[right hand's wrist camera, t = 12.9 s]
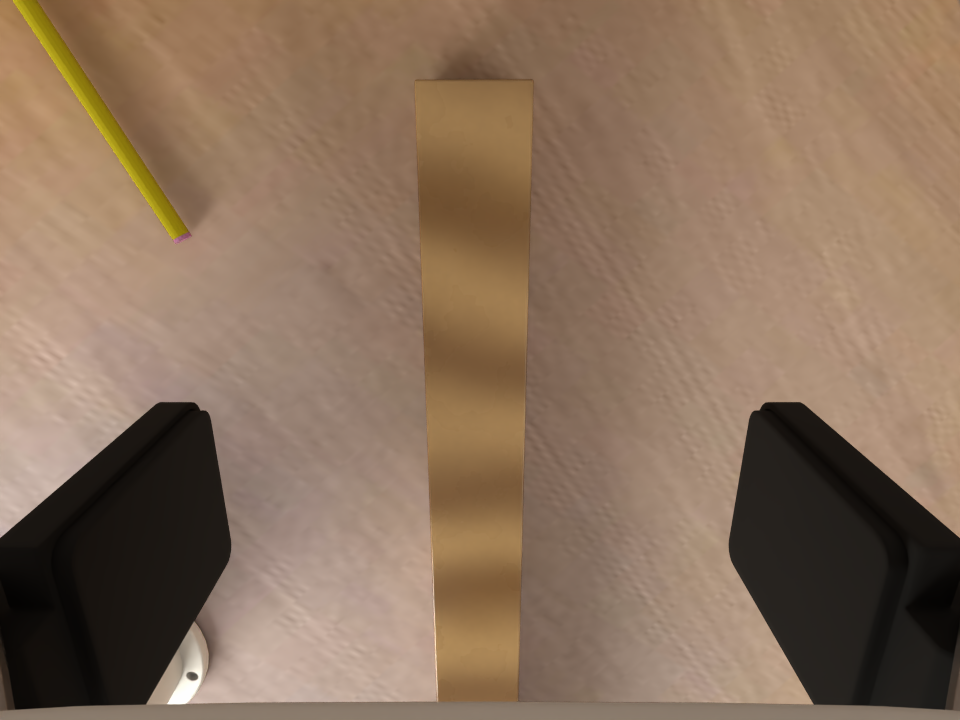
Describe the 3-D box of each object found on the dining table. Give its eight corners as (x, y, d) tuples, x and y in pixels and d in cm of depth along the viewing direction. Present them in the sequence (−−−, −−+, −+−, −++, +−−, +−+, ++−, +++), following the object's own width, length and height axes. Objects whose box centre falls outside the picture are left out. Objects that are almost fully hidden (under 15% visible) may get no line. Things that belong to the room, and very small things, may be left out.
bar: (427, 89, 34) (414, 79, 27) (523, 88, 34) (534, 79, 27) (451, 914, 58) (448, 1018, 52) (506, 913, 58) (510, 1018, 51)
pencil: (194, 234, 36) (187, 237, 35) (180, 242, 36) (172, 245, 35) (-2, -66, 31) (-17, -72, 30) (-18, -55, 31) (-33, -61, 30)
